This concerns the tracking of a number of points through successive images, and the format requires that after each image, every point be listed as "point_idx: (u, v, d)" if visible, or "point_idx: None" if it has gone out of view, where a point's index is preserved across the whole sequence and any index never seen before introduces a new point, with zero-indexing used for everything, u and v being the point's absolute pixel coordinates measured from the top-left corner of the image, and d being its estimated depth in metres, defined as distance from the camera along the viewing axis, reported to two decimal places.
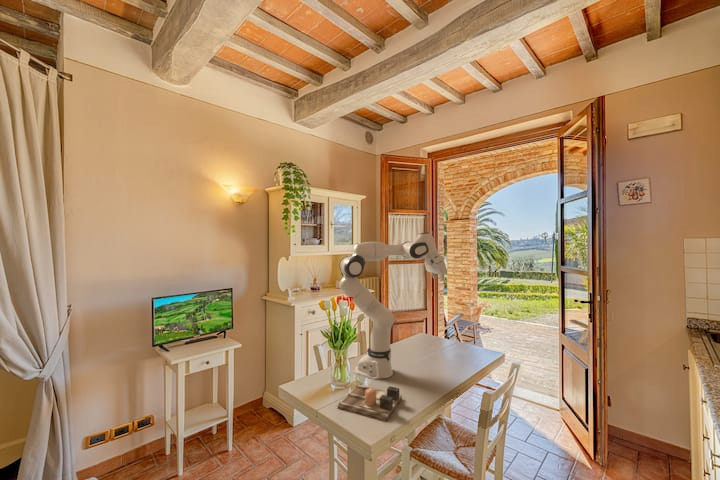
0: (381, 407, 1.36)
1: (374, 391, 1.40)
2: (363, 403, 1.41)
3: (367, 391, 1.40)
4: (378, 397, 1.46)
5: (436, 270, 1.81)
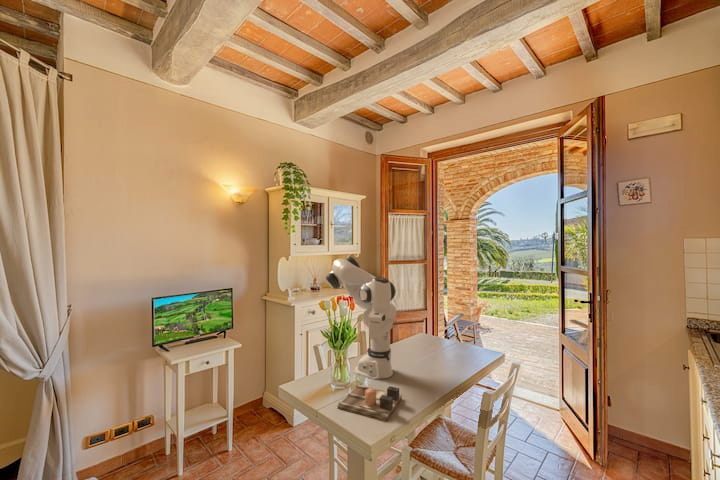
0: (381, 407, 1.36)
1: (374, 391, 1.40)
2: (363, 403, 1.41)
3: (367, 391, 1.40)
4: (378, 397, 1.46)
5: None
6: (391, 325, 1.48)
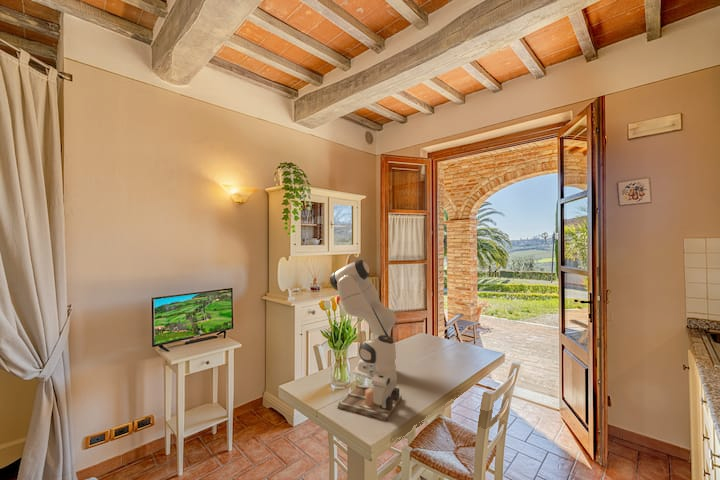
0: (381, 407, 1.36)
1: None
2: (363, 403, 1.41)
3: (367, 391, 1.40)
4: None
5: None
6: (395, 383, 1.43)
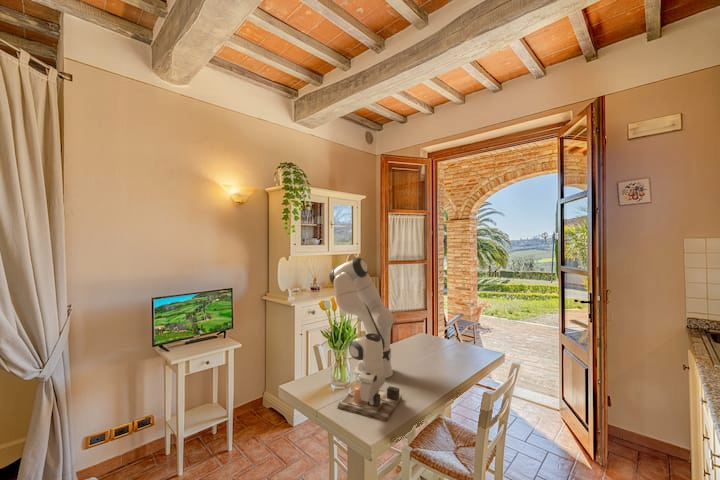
0: (369, 404, 1.39)
1: None
2: (351, 400, 1.43)
3: (355, 388, 1.42)
4: None
5: None
6: (383, 380, 1.46)
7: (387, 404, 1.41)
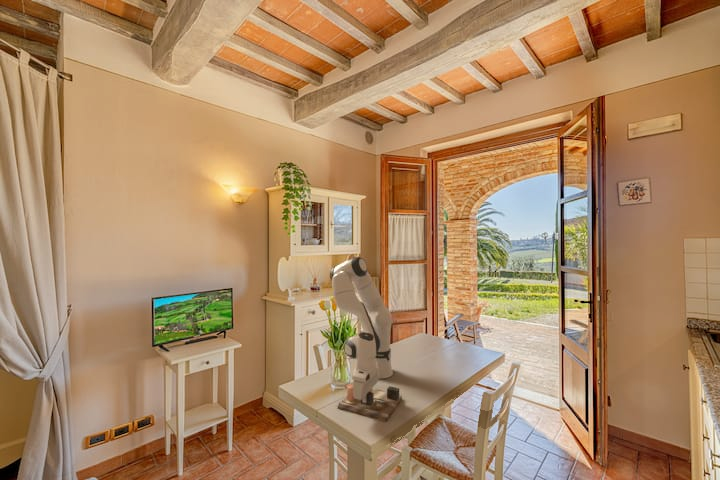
0: (362, 402, 1.41)
1: None
2: (345, 398, 1.45)
3: (349, 387, 1.44)
4: (378, 397, 1.46)
5: None
6: (377, 379, 1.47)
7: (387, 404, 1.41)
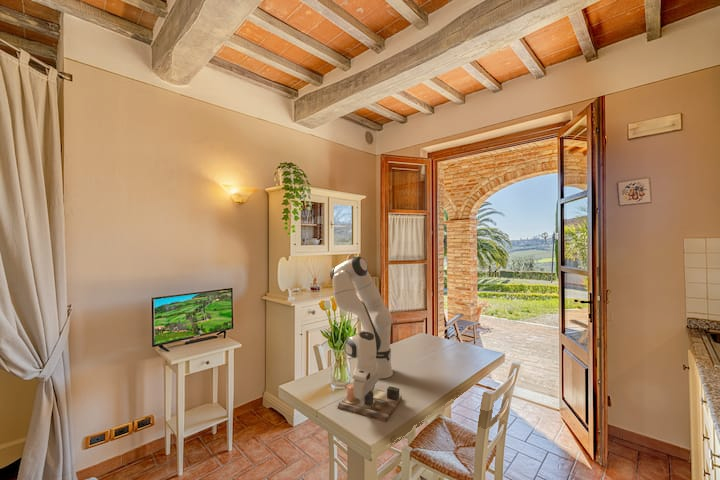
0: None
1: None
2: (345, 398, 1.45)
3: (349, 387, 1.44)
4: (378, 397, 1.46)
5: None
6: (377, 378, 1.47)
7: (387, 404, 1.41)
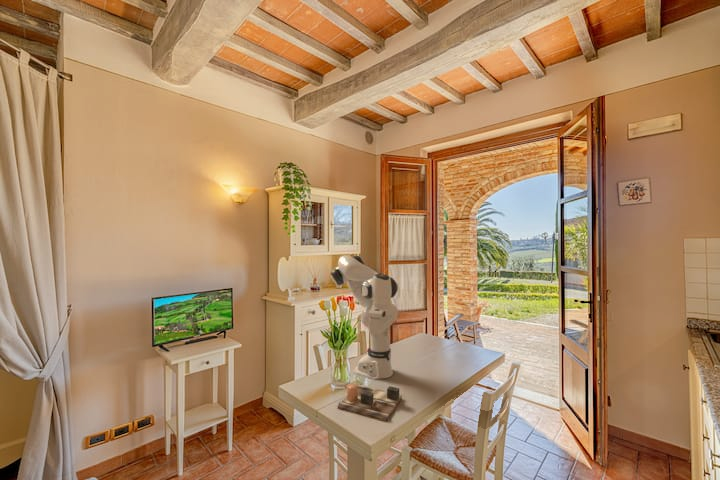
0: (362, 402, 1.41)
1: (355, 387, 1.44)
2: (345, 398, 1.45)
3: (349, 387, 1.44)
4: (378, 397, 1.46)
5: None
6: (391, 321, 1.50)
7: (387, 404, 1.41)
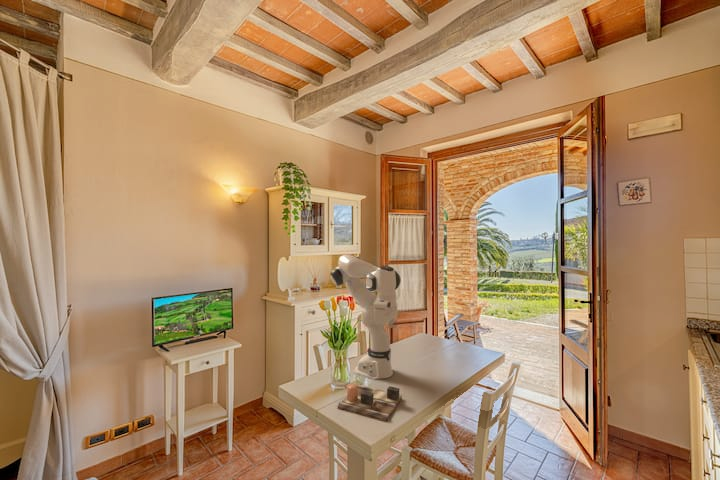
0: (362, 402, 1.41)
1: (355, 387, 1.44)
2: (345, 398, 1.45)
3: (349, 387, 1.44)
4: (378, 397, 1.46)
5: None
6: (396, 313, 1.51)
7: (387, 404, 1.41)
